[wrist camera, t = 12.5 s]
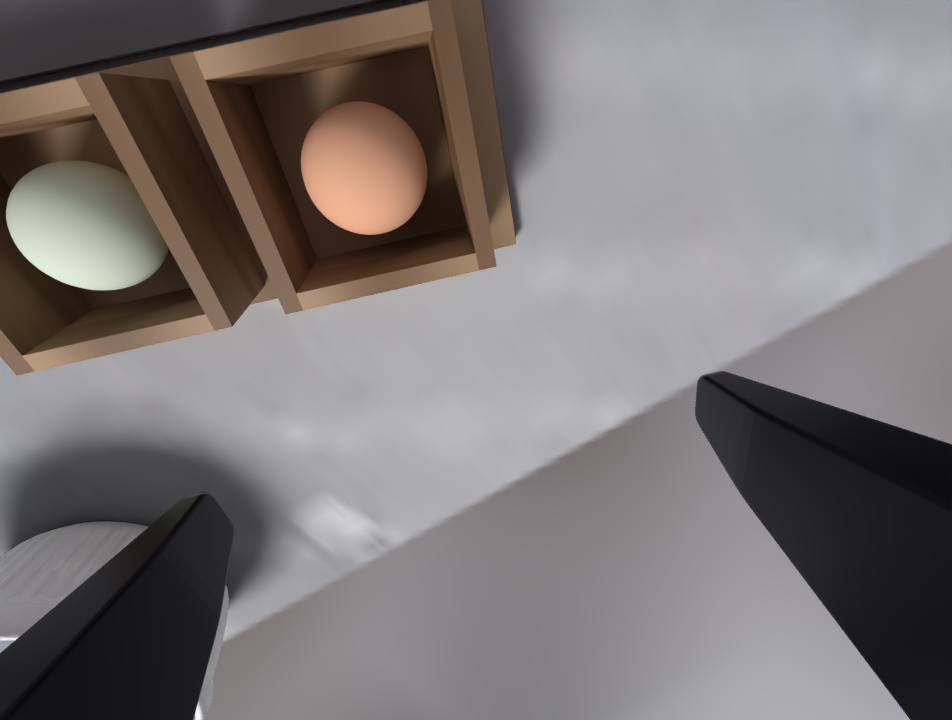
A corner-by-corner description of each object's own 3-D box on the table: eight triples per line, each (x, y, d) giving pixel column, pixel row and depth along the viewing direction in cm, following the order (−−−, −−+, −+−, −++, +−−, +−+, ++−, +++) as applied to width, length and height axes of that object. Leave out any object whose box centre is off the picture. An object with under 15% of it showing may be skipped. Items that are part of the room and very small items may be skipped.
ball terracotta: (406, 86, 15) (414, 90, 12) (433, 203, 17) (446, 234, 14) (291, 112, 15) (266, 123, 12) (333, 227, 17) (322, 264, 14)
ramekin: (-72, 569, 24) (-233, 724, 18) (115, 461, 22) (5, 594, 16) (137, 666, 30) (70, 804, 24) (294, 590, 29) (264, 718, 23)
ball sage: (150, 143, 15) (87, 152, 12) (207, 255, 17) (168, 290, 14) (27, 169, 15) (-73, 187, 12) (101, 280, 17) (34, 323, 14)
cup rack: (477, -8, 15) (500, -47, 11) (513, 240, 19) (539, 273, 15) (-95, 116, 14) (-273, 120, 11) (73, 340, 19) (-12, 399, 15)
